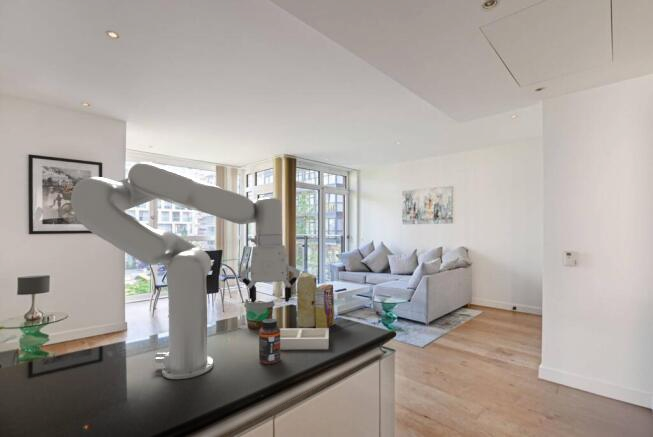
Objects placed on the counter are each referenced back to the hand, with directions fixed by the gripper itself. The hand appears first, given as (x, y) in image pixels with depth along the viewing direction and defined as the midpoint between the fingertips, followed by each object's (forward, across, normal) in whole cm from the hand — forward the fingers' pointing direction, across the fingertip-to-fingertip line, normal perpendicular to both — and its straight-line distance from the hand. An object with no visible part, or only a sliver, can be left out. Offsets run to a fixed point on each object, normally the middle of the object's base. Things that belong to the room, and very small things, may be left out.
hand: (270, 301), depth 89 cm
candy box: (+17, +14, +30) cm, 37 cm away
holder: (+17, +6, +13) cm, 22 cm away
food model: (+17, +7, +31) cm, 36 cm away
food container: (+17, -12, +29) cm, 35 cm away
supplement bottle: (+17, 0, 0) cm, 17 cm away
